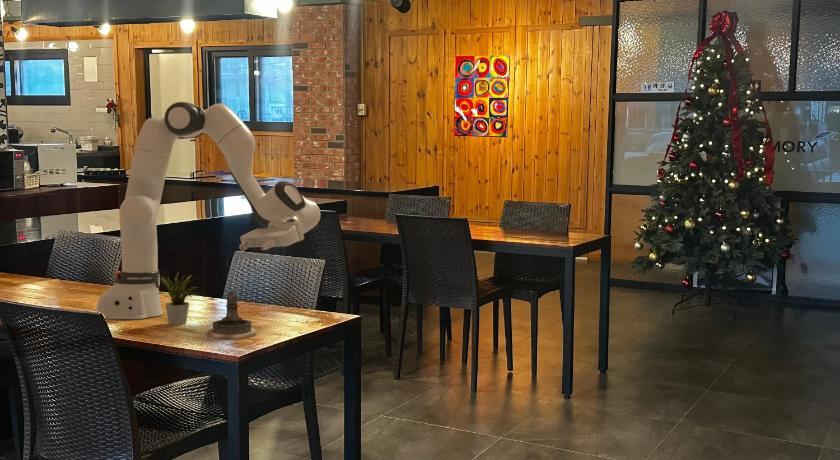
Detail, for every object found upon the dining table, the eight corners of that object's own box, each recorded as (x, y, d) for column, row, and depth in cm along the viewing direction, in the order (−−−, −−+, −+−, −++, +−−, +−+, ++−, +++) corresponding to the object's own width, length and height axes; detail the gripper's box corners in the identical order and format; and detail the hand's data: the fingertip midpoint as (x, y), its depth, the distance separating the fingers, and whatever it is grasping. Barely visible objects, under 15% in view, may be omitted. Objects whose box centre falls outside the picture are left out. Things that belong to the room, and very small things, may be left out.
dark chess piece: (239, 333, 267) (239, 291, 266) (219, 332, 267) (218, 291, 266) (244, 329, 273) (244, 288, 272) (225, 328, 273) (225, 288, 272)
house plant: (152, 329, 275) (152, 274, 274) (146, 321, 288) (145, 269, 287) (201, 326, 281) (201, 273, 280) (193, 319, 294) (192, 267, 292)
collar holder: (207, 339, 262) (207, 327, 261) (207, 330, 275) (207, 318, 275) (257, 338, 265) (257, 326, 264) (255, 329, 278) (255, 317, 278)
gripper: (256, 222, 298) (225, 239, 287) (302, 220, 285) (271, 237, 275) (262, 240, 299) (231, 257, 289) (308, 239, 287) (278, 257, 277)
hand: (251, 248), depth 282 cm, fingers open, 8 cm apart
